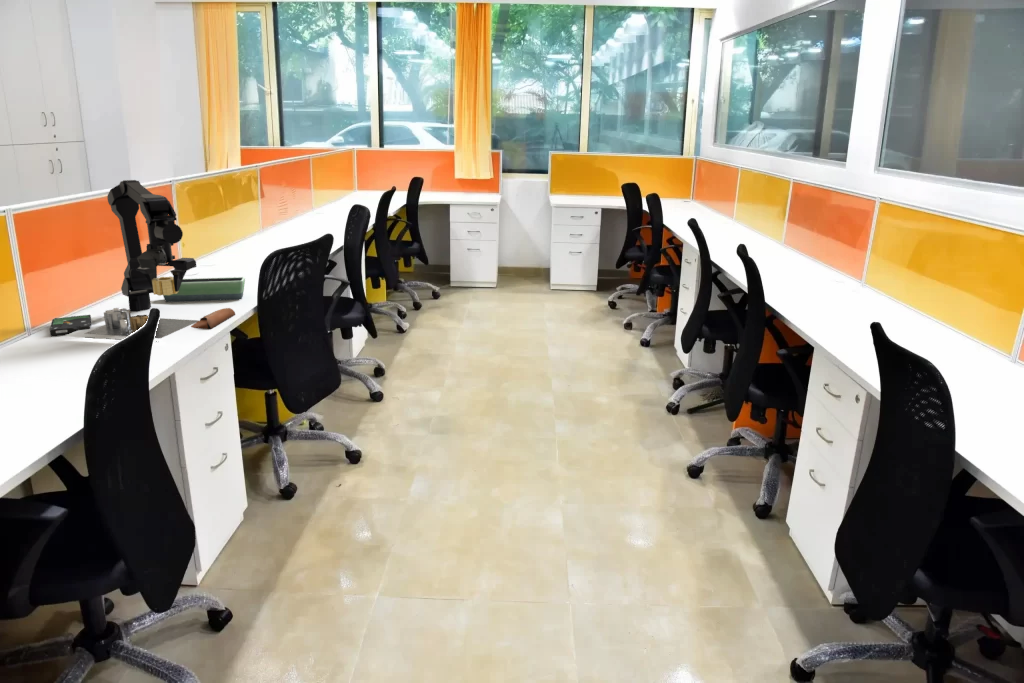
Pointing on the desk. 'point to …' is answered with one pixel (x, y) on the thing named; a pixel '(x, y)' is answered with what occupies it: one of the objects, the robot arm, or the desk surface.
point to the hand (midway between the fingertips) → (166, 290)
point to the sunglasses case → (214, 319)
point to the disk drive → (69, 325)
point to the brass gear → (163, 286)
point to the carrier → (136, 324)
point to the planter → (208, 289)
